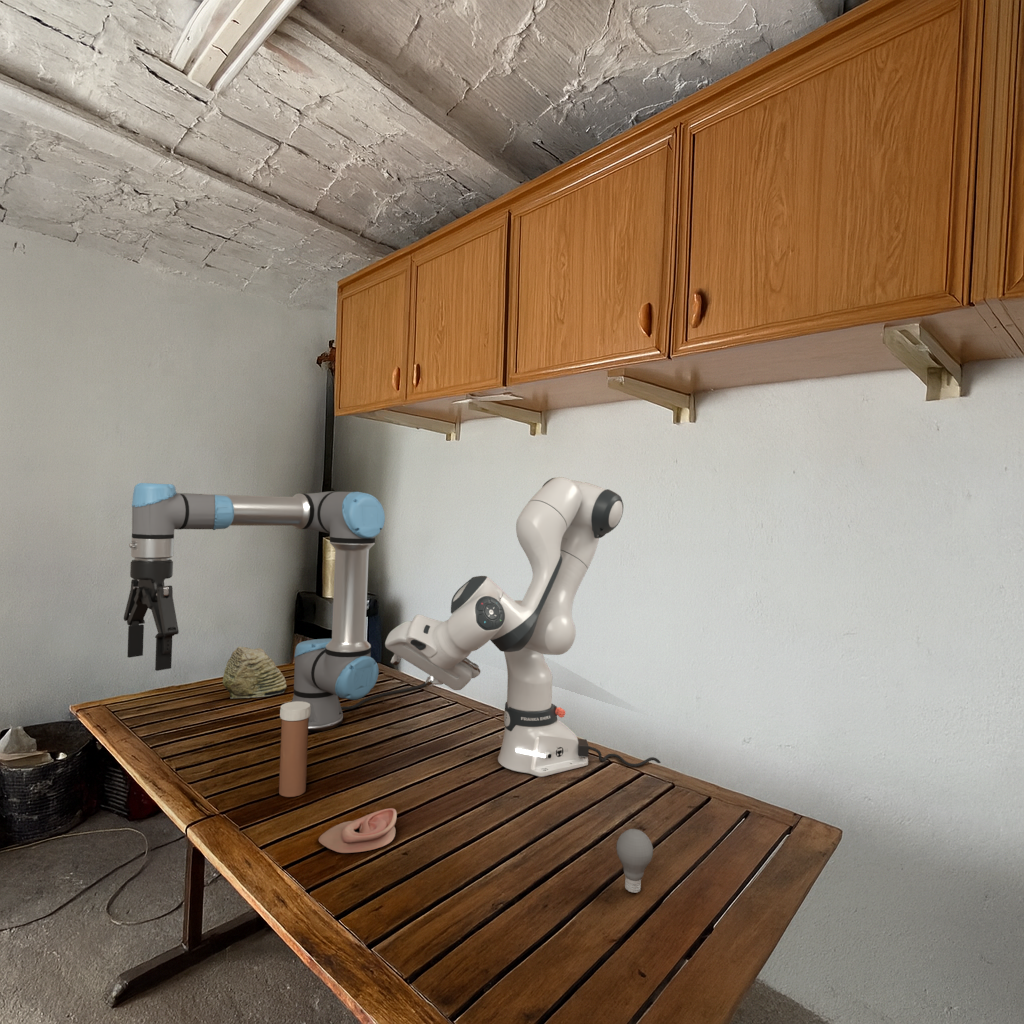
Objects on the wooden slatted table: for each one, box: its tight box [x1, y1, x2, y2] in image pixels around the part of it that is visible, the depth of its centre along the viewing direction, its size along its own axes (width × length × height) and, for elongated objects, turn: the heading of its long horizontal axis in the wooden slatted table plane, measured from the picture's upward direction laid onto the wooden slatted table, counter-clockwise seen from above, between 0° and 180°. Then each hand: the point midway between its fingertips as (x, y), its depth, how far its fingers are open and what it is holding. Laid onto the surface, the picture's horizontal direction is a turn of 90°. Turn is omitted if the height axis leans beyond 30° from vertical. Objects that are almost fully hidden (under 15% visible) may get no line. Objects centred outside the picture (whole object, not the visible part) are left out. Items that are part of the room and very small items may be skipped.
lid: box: [279, 701, 311, 721], centre depth 135 cm, size 6×6×2 cm
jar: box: [278, 717, 309, 798], centre depth 136 cm, size 6×6×18 cm
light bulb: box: [615, 828, 654, 894], centre depth 106 cm, size 6×6×10 cm
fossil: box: [222, 646, 288, 699], centre depth 198 cm, size 9×18×15 cm, turn 132°
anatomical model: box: [318, 807, 398, 854], centre depth 118 cm, size 13×4×12 cm
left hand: (148, 662), depth 129 cm, fingers open, 13 cm apart
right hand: (411, 672), depth 141 cm, fingers open, 8 cm apart
